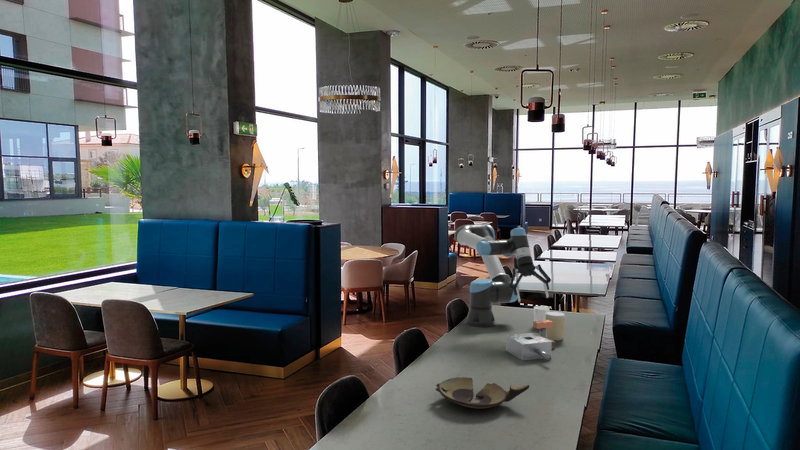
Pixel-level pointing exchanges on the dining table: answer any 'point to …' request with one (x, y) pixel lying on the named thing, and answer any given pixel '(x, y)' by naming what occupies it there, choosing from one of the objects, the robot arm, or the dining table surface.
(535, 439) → the dining table surface
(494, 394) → the brown curved dish
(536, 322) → the block
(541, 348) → the block
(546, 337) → the wooden square frame
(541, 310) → the white cup
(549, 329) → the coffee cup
